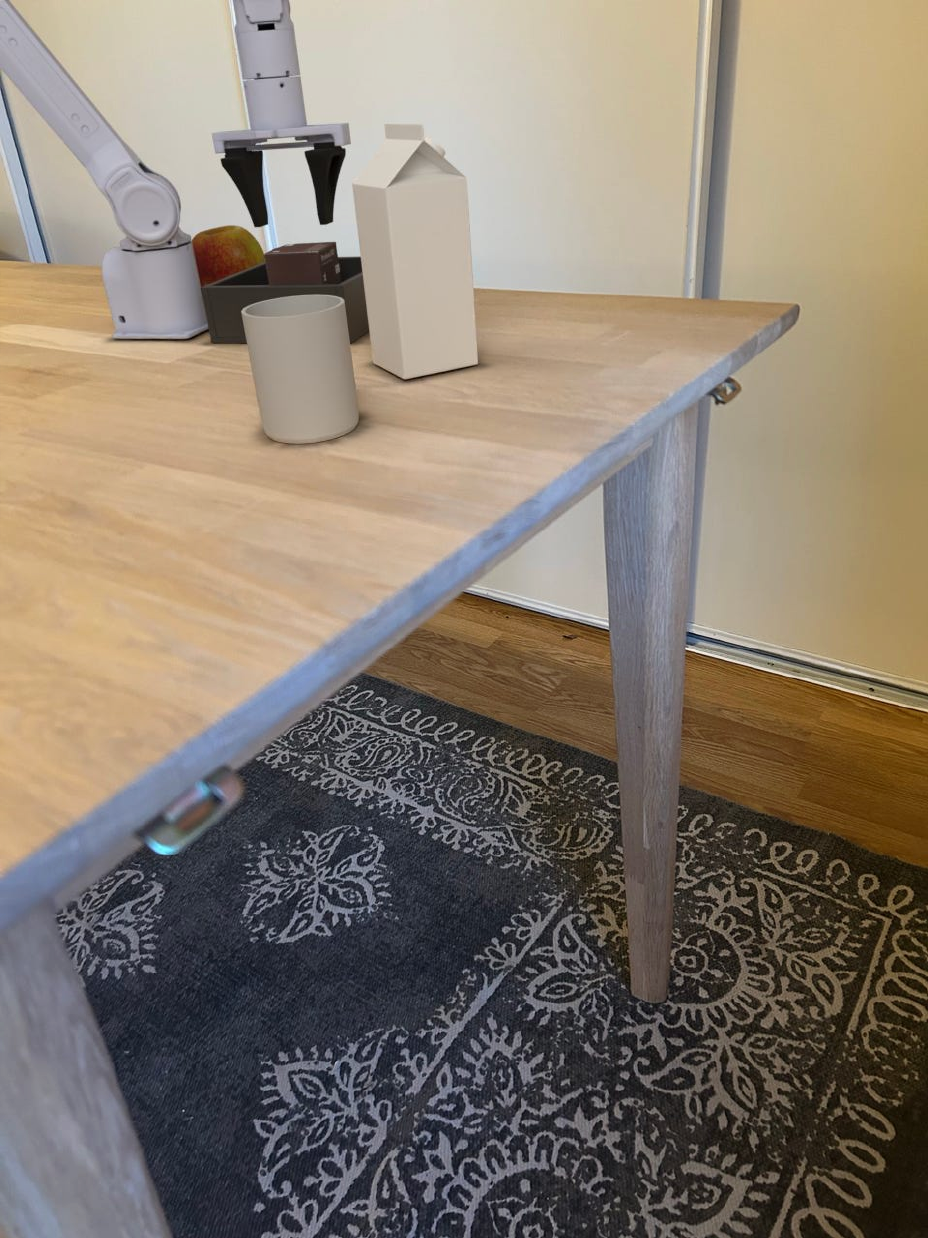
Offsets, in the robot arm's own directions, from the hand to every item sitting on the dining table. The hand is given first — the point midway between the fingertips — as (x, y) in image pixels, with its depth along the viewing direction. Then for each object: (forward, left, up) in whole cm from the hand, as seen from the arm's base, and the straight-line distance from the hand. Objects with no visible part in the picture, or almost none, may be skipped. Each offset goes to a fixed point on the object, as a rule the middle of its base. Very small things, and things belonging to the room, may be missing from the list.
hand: (293, 224), depth 101 cm
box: (+3, -4, -9) cm, 10 cm away
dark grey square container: (+3, -4, -9) cm, 11 cm away
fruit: (-15, +10, -10) cm, 21 cm away
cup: (+17, -36, -10) cm, 40 cm away
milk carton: (+21, -20, -10) cm, 30 cm away
